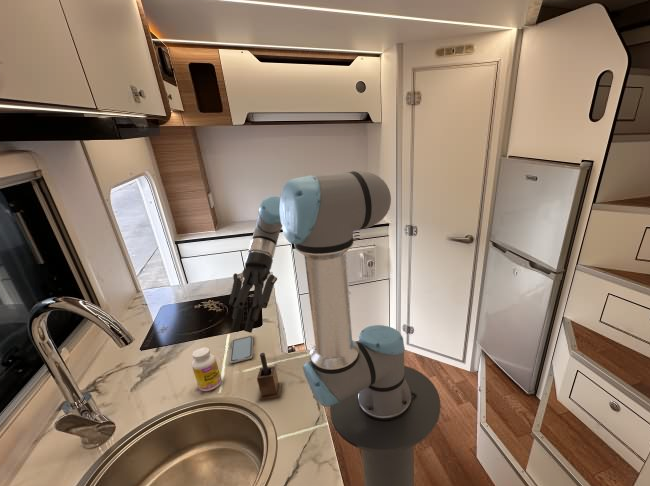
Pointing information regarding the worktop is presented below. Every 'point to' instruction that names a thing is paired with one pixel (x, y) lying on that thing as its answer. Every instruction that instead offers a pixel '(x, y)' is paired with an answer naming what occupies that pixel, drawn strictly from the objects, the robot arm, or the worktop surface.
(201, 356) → the supplement bottle
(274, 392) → the pen holder
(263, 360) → the stylus
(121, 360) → the worktop surface
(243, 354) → the smartphone
